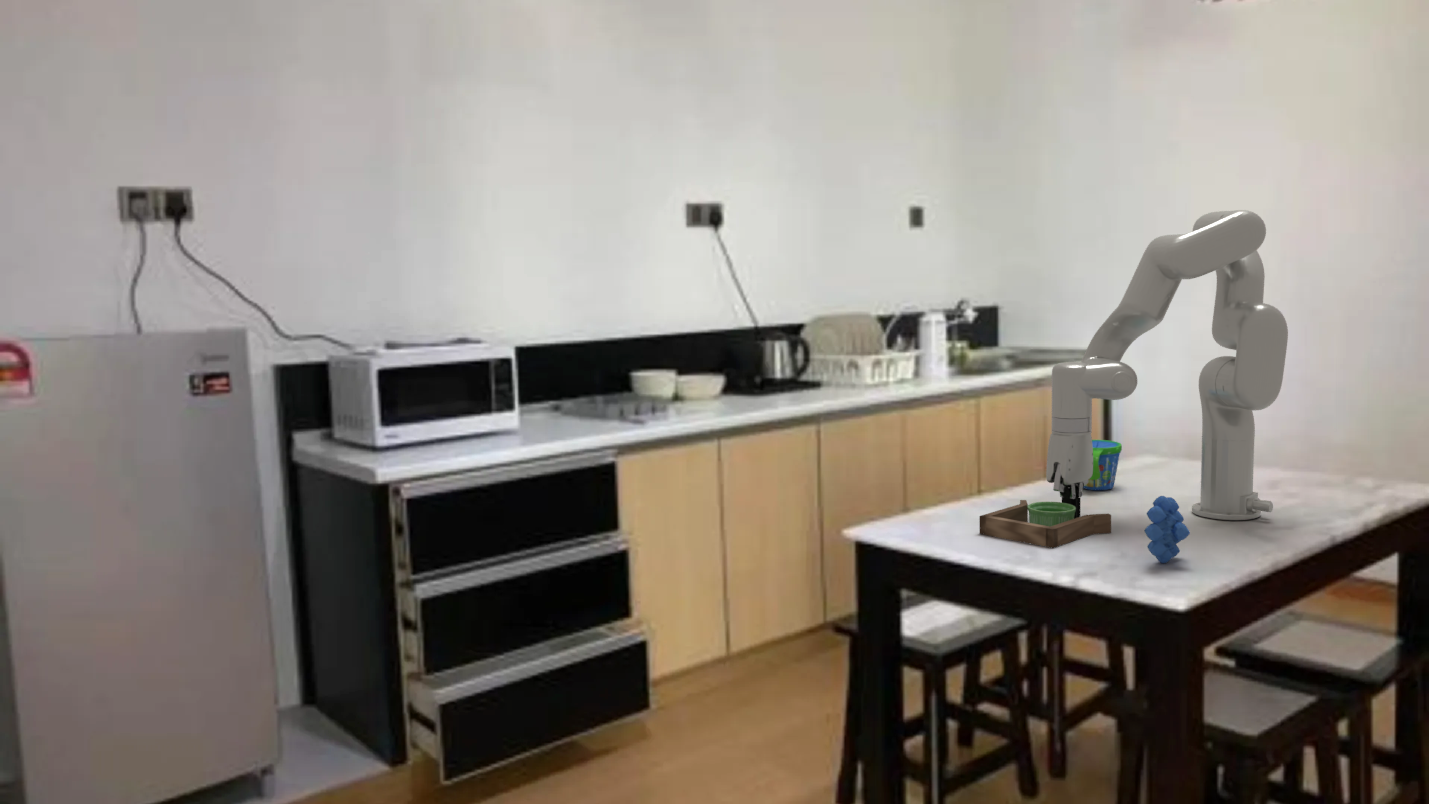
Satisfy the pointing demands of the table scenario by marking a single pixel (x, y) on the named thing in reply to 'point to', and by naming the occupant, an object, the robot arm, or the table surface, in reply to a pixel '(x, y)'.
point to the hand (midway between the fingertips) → (1070, 516)
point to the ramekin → (1050, 513)
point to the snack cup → (1104, 464)
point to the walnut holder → (1040, 527)
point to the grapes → (1165, 529)
